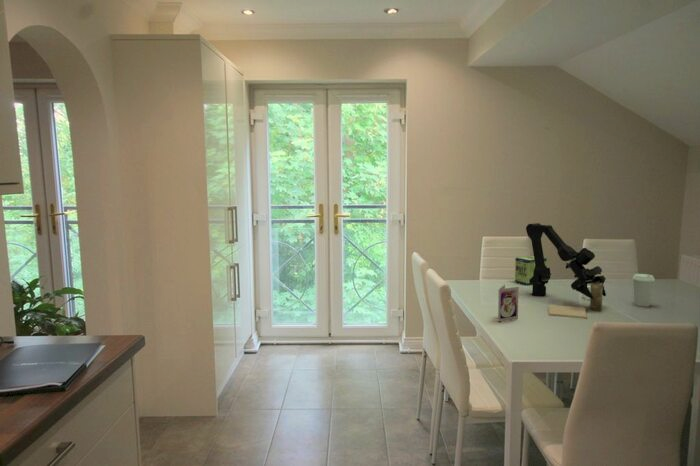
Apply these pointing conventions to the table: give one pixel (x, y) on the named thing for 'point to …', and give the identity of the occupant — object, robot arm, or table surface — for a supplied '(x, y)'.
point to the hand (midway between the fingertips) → (598, 297)
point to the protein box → (525, 269)
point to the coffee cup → (643, 289)
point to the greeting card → (508, 303)
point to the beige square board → (567, 311)
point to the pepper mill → (596, 296)
